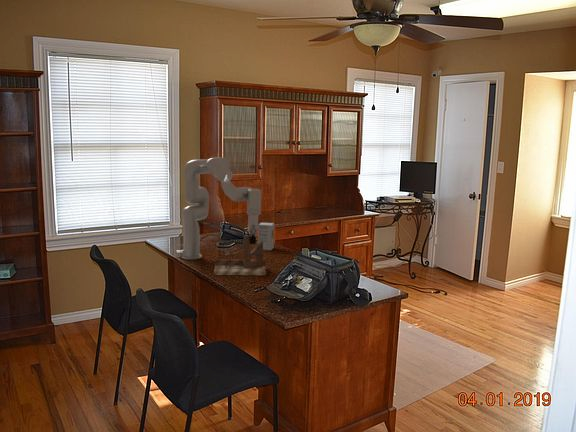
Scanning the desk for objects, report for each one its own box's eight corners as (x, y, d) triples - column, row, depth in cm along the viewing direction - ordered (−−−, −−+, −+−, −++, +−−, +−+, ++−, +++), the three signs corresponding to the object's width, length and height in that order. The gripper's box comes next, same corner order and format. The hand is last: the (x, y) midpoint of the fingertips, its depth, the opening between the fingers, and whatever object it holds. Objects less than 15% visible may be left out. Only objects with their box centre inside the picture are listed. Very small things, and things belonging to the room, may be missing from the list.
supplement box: (271, 250, 330) (271, 225, 327) (257, 249, 331) (257, 224, 328) (273, 247, 339) (274, 222, 336) (260, 246, 341) (261, 222, 338)
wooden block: (263, 266, 283) (263, 235, 279) (244, 268, 279) (244, 236, 276) (261, 265, 286) (261, 234, 283) (242, 266, 283) (242, 234, 280)
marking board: (213, 274, 272) (213, 265, 271) (215, 267, 286) (215, 259, 285) (265, 275, 274) (266, 266, 273) (265, 268, 288) (265, 259, 287)
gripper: (247, 208, 286) (245, 237, 289) (246, 214, 269) (245, 245, 272) (260, 209, 286) (259, 238, 289) (261, 214, 269) (259, 245, 272)
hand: (252, 241), depth 281 cm, fingers open, 9 cm apart
